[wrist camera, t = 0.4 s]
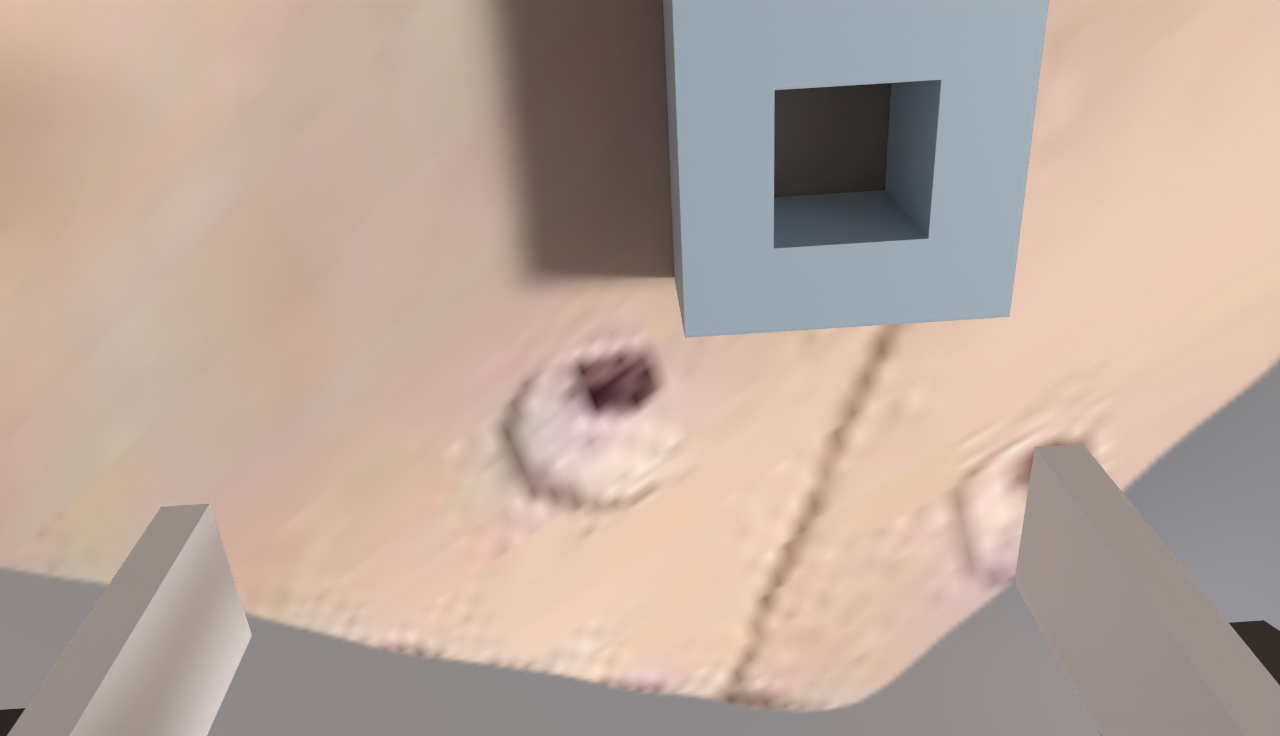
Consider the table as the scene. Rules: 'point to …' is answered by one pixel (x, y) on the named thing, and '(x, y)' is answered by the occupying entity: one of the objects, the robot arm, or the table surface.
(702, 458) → the table surface
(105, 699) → the robot arm
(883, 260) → the socket
